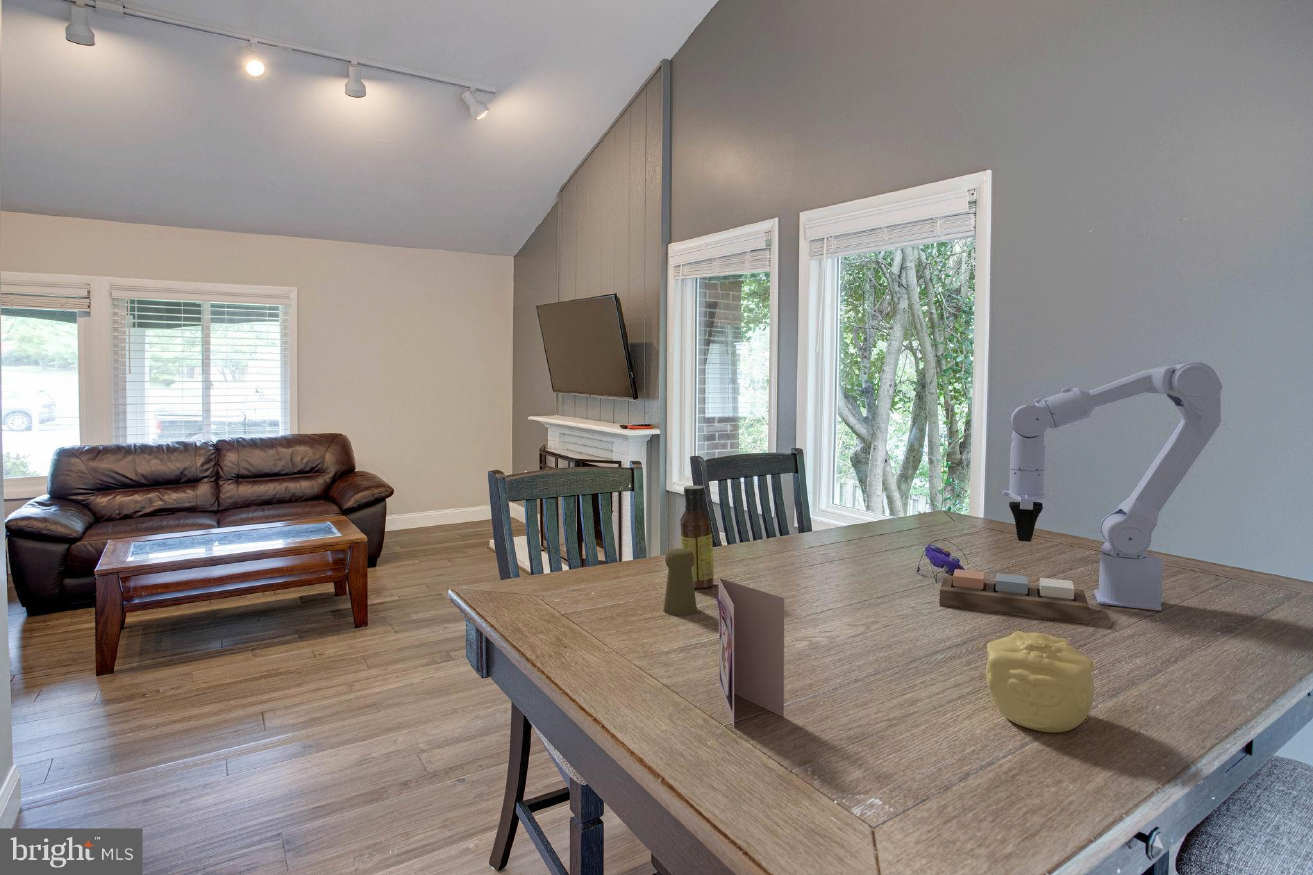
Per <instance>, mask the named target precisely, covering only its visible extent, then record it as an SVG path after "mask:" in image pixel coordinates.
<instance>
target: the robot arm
mask: <svg viewBox="0 0 1313 875" xmlns="http://www.w3.org/2000/svg"><path fill="white" fill-rule="evenodd" d="M1223 387H1224V385H1223V383H1222V381H1221V380H1220V378H1219V375H1218V374H1217V372H1216V371H1215V370H1214V368H1213V367H1212V366H1210V365H1209V364H1207V363H1205V362H1204V363H1203V362H1199V361H1192V362H1175V363H1172V364H1169V365H1166V366H1159V367H1154V368H1151V369H1145V370H1142V371H1140V372H1137V373H1134V374H1133V373H1132V374H1131V375H1128V376H1127V377H1123V378H1119V379H1118V380H1116V381H1112V382H1110V383H1107V384H1104V385H1102V386H1099V387H1096V388H1093V389H1091V390H1088V391H1087V390H1084V389H1081V388H1079V387H1074V388H1072V389H1071V387H1069V386H1067V387H1065V388H1064V387H1063V388H1062V389H1061V390H1060V392H1059V393H1058V394H1054V395H1051V396H1048V397H1046V398H1043V399H1041V398H1039V397H1038V398H1035V399H1034V400H1033V402H1034V404H1024V405H1022V404H1021V405H1020V406H1018V407H1017V408H1015V410H1014V411H1013V412H1012V413H1011V416H1010V419H1009V423H1010V424H1009V425H1010V427H1011V428H1012V430H1013V431H1012V434H1011V444H1010V455H1009V457H1010V458H1009V459H1010V460H1009V485H1008V486H1009V488H1008V490H1002V493H1001V494H1002V496H1004V497H1005V496H1008V497H1009V498H1012V499H1014V500H1016V501H1008V502H1009V503H1008V507H1009V509H1010V511H1011V513H1012V515H1013V519H1014V524H1015V531H1016V537H1017V540H1018V542H1025V543H1031V542H1032V539H1033V536H1034V530H1035V527H1036V523H1037V521H1038V519H1039V516H1040V514H1041V512H1042V511H1043V509H1044V507H1043V502H1041V500H1043V499H1044V498H1045V493H1044V485H1045V484H1044V483H1045V461H1046V460H1045V457H1046V445H1045V432H1046V431H1047V429H1048V428H1049V429H1057V428H1061V427H1064V426H1066V425H1069V424H1073V423H1075V422H1078V421H1081V420H1084V419H1087V418H1090V416H1091V415H1092V413H1093V411H1094V410H1095V408H1097V407H1102V406H1104V405H1107V404H1110V403H1115V402H1117V401H1121V400H1124V399H1128V398H1130V397H1134V396H1138V395H1141V394H1145V393H1148V394H1162V395H1165V396H1166V397H1167V398H1168V399H1169V400H1171V402H1172V403H1173V404H1174V406H1175V409H1176V411H1177V414H1178V417H1179V419H1180V422H1179V424H1178V425H1177V427H1176V428H1175V429H1174V431H1173V433H1171V435H1170V437H1169V438H1168V439H1167V441H1166V442H1165V443H1164V446H1163V447H1162V448H1161V450H1160V451H1159V453H1158V454H1157V455H1156V457H1155V459H1154V460H1153V461H1152V463H1151V465H1150V466H1149V467H1148V469H1147V470H1146V471H1145V474H1144V475H1143V476H1142V478H1141V480H1140V481H1139V482H1138V484H1137V485H1136V486H1135V488H1134V490H1133V491H1132V492H1131V494H1130V496H1129V497H1128V498H1126V499H1125V500H1124V501H1122V502H1121V503H1120V504H1119V505H1118V507H1117V508H1116V509H1115V510H1114V511H1113V512H1111V513H1109V514H1107V515H1106V516H1105V517H1104V518H1103V519H1102V520H1101V522H1100V525H1099V532H1100V533H1101V534H1100V535H1101V536H1102V538H1103V539H1104V540H1105V542H1104V544H1103V545H1102V546H1101V547H1100V548H1099V549H1100V551H1099V554H1100V556H1099V575H1098V576H1099V577H1098V579H1099V580H1098V589H1093V593H1094V596H1095V598H1096V603H1097V604H1098V605H1099V604H1100V605H1105V606H1113V607H1115V606H1116V607H1124V608H1132V609H1139V610H1140V609H1141V610H1142V609H1143V610H1149V611H1150V610H1151V611H1159V612H1160V611H1161V612H1162V596H1163V577H1164V575H1163V574H1164V568H1163V560H1162V558H1161V556H1157V555H1150V554H1149V551H1148V549H1149V548H1150V546H1151V543H1152V534H1153V532H1154V529H1155V528H1156V527H1157V525H1158V521H1159V515H1160V512H1161V510H1162V509H1163V507H1164V506H1165V504H1166V503H1167V502H1168V500H1169V499H1170V497H1171V496H1172V495H1173V493H1174V491H1175V490H1176V489H1177V488H1178V486H1179V485H1180V483H1181V481H1183V479H1184V478H1185V476H1186V475H1187V473H1188V471H1189V470H1190V469H1191V467H1192V466H1193V465H1194V463H1195V462H1196V460H1197V459H1198V457H1199V455H1201V453H1202V451H1203V450H1204V448H1205V447H1206V446H1207V444H1208V442H1209V441H1210V440H1211V438H1212V437H1213V436H1214V434H1215V433H1216V431H1217V430H1218V428H1220V425H1221V421H1222V412H1221V410H1222V408H1221V406H1222V405H1221V403H1222V402H1221V401H1222V400H1221V394H1222V390H1223Z"/></svg>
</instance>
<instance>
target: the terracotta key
mask: <svg viewBox="0 0 1313 875" xmlns="http://www.w3.org/2000/svg"><path fill="white" fill-rule="evenodd" d="M952 576H953V586H955V588H959V589H968V590H977V591H982V589H983V587H984V579H985V571H977V570H969V569H965V570H959V569H955V571H954V574H953V575H952Z"/></svg>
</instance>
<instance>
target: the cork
mask: <svg viewBox="0 0 1313 875" xmlns="http://www.w3.org/2000/svg"><path fill="white" fill-rule="evenodd" d="M665 554H666V555H665V566H666V567H667V568H668V570H667V581H666V585H665V586H666V588H665V594H664V596H665V597H664V604H663V612H664V613H665V614H667V615H670V616H676V617H677V616H680V617H684V616H690V615H693V614H696V613H697V612H698V607H697V606H698V605H697V601H696V600H697V599H696V592H695V591H696V590H695V588H694V584H693V577H692V569H691V568H692V566H693V565H694V554H693V553H692V551H690V550H688V549H683V548H681V547H680V548H679V547H678V548H672V549H670V550H668V551H667V552H666V553H665Z"/></svg>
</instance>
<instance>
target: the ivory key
mask: <svg viewBox="0 0 1313 875" xmlns="http://www.w3.org/2000/svg"><path fill="white" fill-rule="evenodd" d="M1073 582H1074V581H1072V580H1067V579H1055V578H1048V577H1047V578H1046V577H1039V585H1040V587H1039V588H1040V595H1041V598H1048V599H1057V600H1066V601H1072V599H1074V589H1075V586H1074V583H1073Z"/></svg>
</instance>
